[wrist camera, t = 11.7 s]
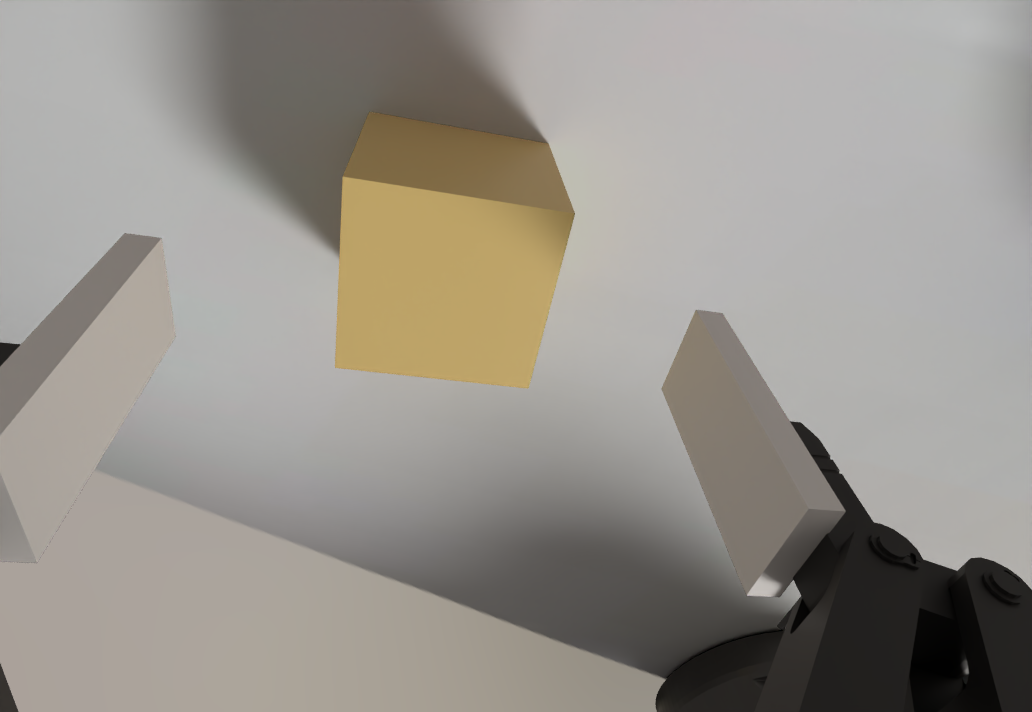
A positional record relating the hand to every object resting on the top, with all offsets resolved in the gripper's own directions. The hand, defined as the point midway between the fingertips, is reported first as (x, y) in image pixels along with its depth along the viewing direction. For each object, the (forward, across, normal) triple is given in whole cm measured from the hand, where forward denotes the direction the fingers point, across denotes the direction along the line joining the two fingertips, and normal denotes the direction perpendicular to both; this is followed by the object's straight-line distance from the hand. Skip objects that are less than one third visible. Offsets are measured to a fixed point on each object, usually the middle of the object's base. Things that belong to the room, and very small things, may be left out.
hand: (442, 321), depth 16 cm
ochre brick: (+8, 0, 0) cm, 8 cm away
